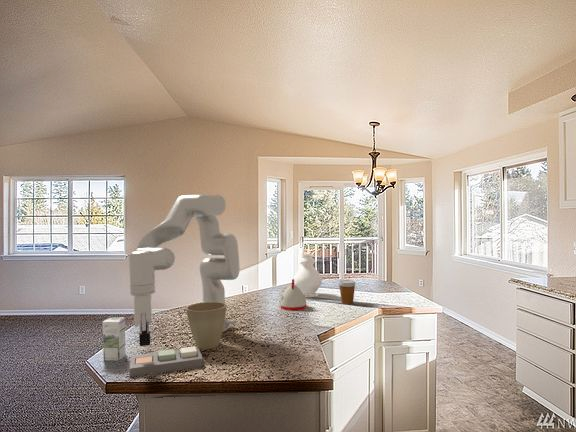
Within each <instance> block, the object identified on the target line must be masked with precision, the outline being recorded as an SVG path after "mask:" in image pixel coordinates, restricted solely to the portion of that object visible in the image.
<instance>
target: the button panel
mask: <svg viewBox="0 0 576 432" xmlns="http://www.w3.org/2000/svg"><path fill="white" fill-rule="evenodd" d="M195 347H196V350H197V356H192V357H185V358H181V356H180V348H178V349H174V352H175V359H170V360H163V361H159V351H157V352H150V353H149V352H148V353H141V354H134V355H131V359H130V363H129V364H130V365H129V377H130V378H131V377H132V376H133V377H138V376H139V375H140V376H146V375H151V374H152V375H153V374H159V373H160V372H161V373H165V372H174V371H181V370H188V369H192V368H201V367H203V366H204V363H203V361H204V359H203V356H202V352H201V349H199V347H197V346H195ZM151 356H152V362H148V363H141V364H135V363H136V358H143V357H151ZM140 376H139V377H140ZM133 377H132V378H133Z"/></svg>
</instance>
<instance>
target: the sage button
mask: <svg viewBox="0 0 576 432" xmlns="http://www.w3.org/2000/svg"><path fill="white" fill-rule="evenodd" d="M174 350H175V348H173V349H171V348H170V349H163V350H158V352H159V361H163V360H170V359H175V352H174Z"/></svg>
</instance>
